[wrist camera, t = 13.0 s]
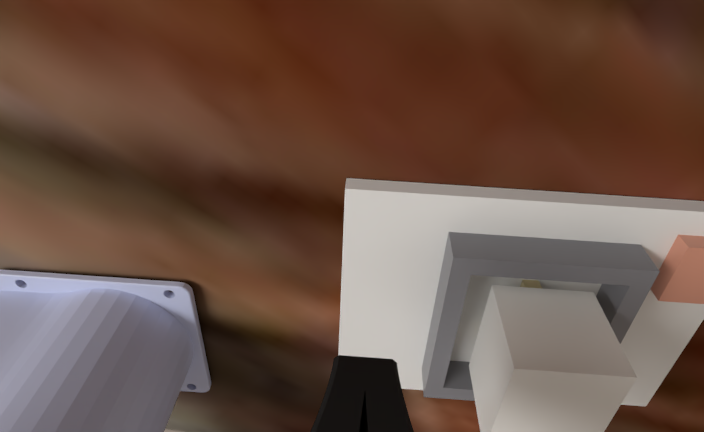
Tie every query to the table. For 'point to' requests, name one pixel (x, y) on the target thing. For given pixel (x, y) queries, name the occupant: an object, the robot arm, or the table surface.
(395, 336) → the socket plate
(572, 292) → the plug
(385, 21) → the table surface
